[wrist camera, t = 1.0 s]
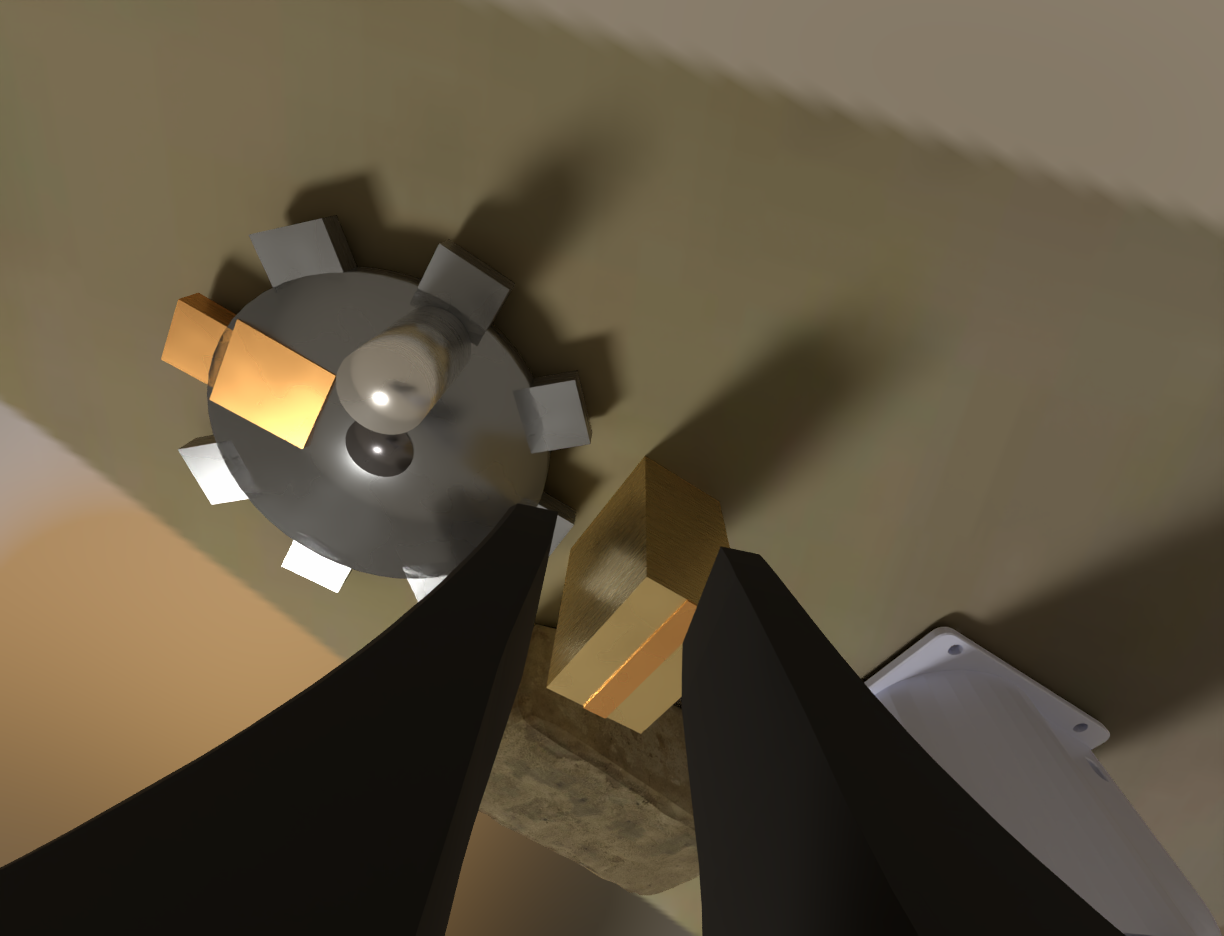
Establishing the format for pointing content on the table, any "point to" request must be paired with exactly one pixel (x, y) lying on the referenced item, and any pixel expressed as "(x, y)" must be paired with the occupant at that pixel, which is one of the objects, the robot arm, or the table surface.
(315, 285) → the sprocket
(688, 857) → the stone block
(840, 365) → the table surface
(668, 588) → the tan rectangular block
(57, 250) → the table surface
